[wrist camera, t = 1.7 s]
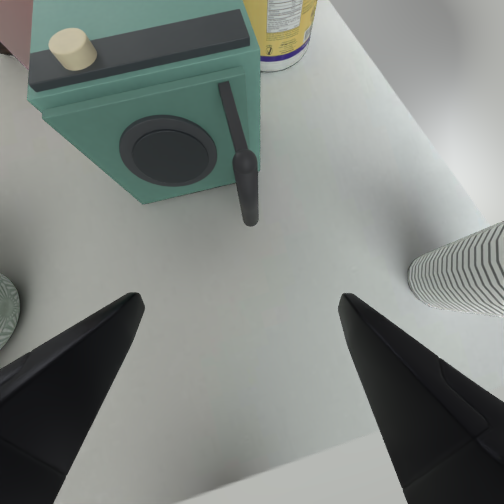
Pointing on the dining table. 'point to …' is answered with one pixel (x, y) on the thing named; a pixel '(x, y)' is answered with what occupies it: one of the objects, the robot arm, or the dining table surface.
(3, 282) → the planter
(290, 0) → the supplement tub
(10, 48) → the greeting card
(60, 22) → the washer
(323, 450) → the dining table surface
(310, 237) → the dining table surface
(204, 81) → the washer door
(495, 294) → the cup
